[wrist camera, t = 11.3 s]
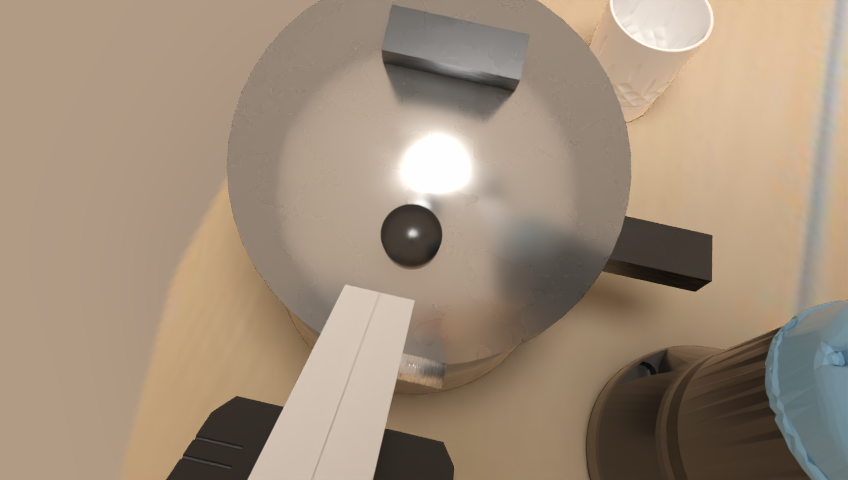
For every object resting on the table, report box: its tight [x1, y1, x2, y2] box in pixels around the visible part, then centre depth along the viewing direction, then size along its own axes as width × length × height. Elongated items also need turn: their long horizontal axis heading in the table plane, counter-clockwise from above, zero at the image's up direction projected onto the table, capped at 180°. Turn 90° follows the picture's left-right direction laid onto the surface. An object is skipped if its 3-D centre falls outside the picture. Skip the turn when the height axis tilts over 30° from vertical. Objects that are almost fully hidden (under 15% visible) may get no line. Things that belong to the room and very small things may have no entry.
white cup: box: [589, 0, 714, 122], centre depth 50 cm, size 8×8×10 cm
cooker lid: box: [227, 0, 631, 389], centre depth 30 cm, size 21×21×4 cm
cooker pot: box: [286, 216, 712, 394], centre depth 41 cm, size 28×20×12 cm
